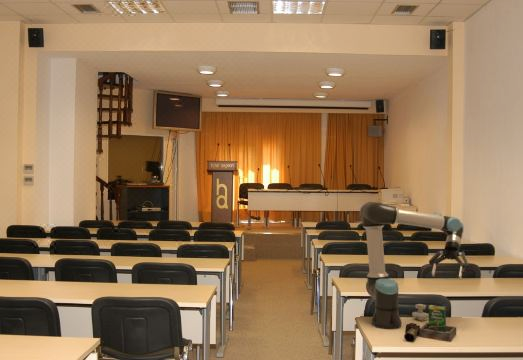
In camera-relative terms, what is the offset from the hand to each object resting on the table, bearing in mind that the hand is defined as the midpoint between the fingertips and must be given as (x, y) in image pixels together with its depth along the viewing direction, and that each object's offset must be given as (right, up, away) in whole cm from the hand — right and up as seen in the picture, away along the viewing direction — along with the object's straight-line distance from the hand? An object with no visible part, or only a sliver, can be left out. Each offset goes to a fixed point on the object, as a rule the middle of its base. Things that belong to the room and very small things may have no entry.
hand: (446, 276), depth 260 cm
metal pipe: (-24, -26, -19) cm, 40 cm away
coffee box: (-10, -25, -16) cm, 31 cm away
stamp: (-9, -27, +14) cm, 32 cm away
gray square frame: (-10, -26, -16) cm, 32 cm away
